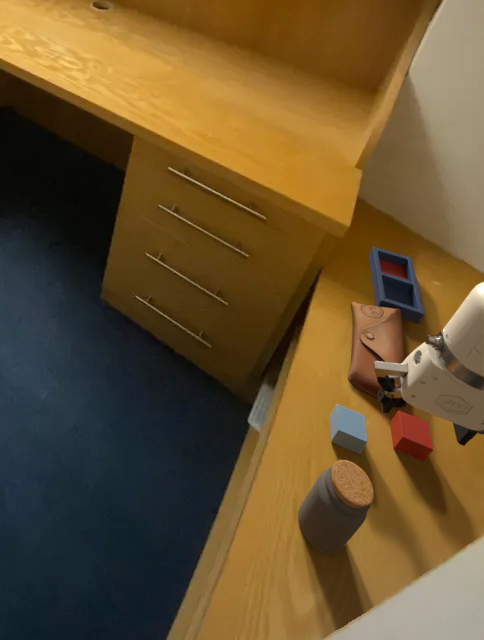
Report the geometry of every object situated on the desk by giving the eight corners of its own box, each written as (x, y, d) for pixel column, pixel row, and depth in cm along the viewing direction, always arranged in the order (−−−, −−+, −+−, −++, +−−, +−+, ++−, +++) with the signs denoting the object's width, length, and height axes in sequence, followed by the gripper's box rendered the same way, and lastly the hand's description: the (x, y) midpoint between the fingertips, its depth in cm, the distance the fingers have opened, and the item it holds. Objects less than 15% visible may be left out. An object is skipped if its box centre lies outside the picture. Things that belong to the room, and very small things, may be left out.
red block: (418, 433, 82) (428, 421, 80) (423, 461, 78) (433, 449, 76) (389, 422, 83) (398, 410, 81) (393, 448, 80) (402, 437, 78)
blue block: (356, 427, 82) (364, 415, 80) (359, 454, 79) (367, 442, 77) (329, 415, 84) (336, 403, 82) (330, 442, 81) (338, 430, 79)
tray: (406, 267, 108) (411, 257, 106) (418, 323, 97) (424, 314, 96) (368, 255, 110) (372, 246, 109) (376, 309, 100) (381, 300, 98)
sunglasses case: (348, 297, 101) (377, 287, 97) (377, 322, 100) (408, 313, 96) (346, 383, 88) (380, 376, 83) (380, 412, 87) (416, 407, 82)
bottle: (335, 505, 74) (368, 459, 66) (349, 560, 69) (387, 517, 61) (292, 496, 75) (321, 450, 67) (303, 549, 70) (335, 506, 62)
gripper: (401, 356, 68) (358, 417, 77) (563, 416, 63) (497, 475, 71) (392, 307, 74) (353, 369, 83) (539, 358, 68) (481, 419, 77)
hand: (419, 418), depth 77 cm, fingers open, 9 cm apart
